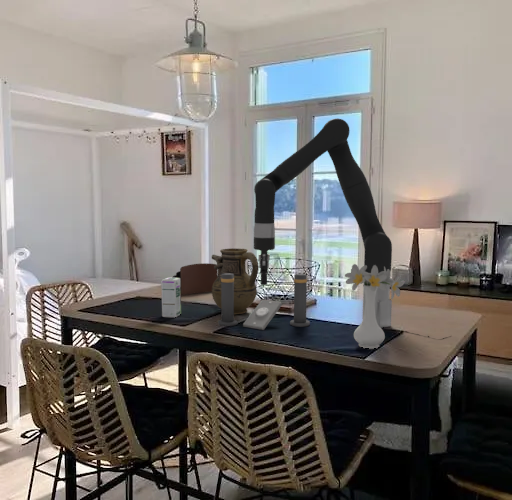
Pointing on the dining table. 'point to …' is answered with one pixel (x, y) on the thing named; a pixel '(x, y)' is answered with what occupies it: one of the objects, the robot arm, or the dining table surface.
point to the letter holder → (197, 278)
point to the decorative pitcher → (236, 277)
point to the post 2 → (300, 301)
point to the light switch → (262, 314)
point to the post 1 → (227, 300)
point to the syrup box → (171, 297)
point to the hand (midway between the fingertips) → (263, 284)
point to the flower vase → (371, 302)
